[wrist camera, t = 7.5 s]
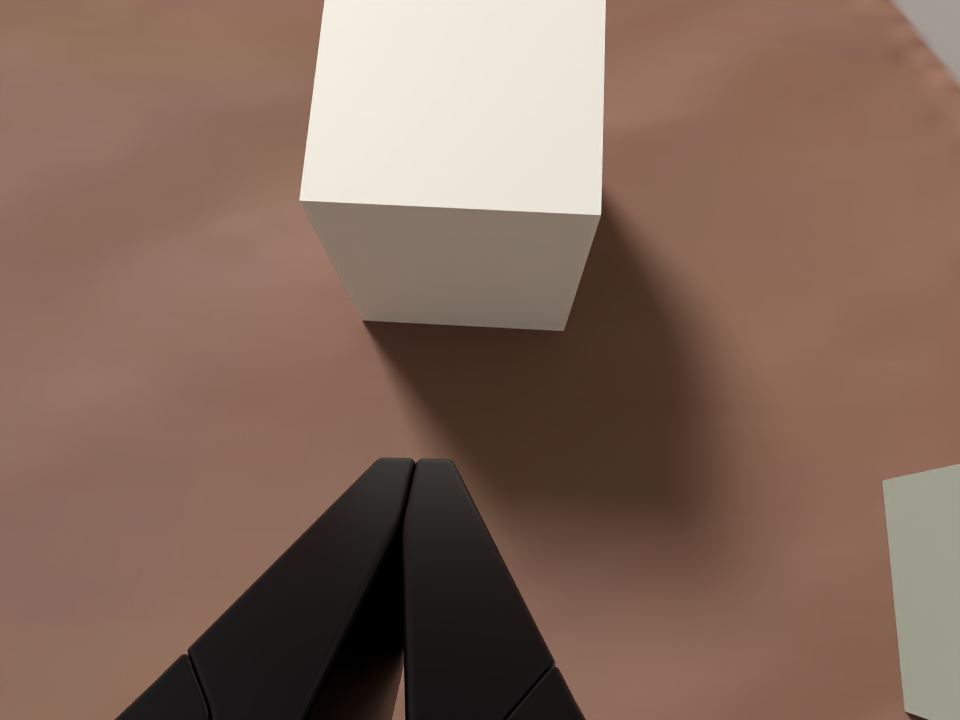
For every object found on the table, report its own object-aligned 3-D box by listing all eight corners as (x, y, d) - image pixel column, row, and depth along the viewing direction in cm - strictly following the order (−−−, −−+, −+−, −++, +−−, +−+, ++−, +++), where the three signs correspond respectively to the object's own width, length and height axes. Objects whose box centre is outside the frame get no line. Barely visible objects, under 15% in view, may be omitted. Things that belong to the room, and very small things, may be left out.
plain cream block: (563, 331, 23) (601, 215, 16) (362, 320, 23) (299, 200, 16) (569, 148, 25) (606, -40, 17) (380, 140, 25) (330, -52, 17)
